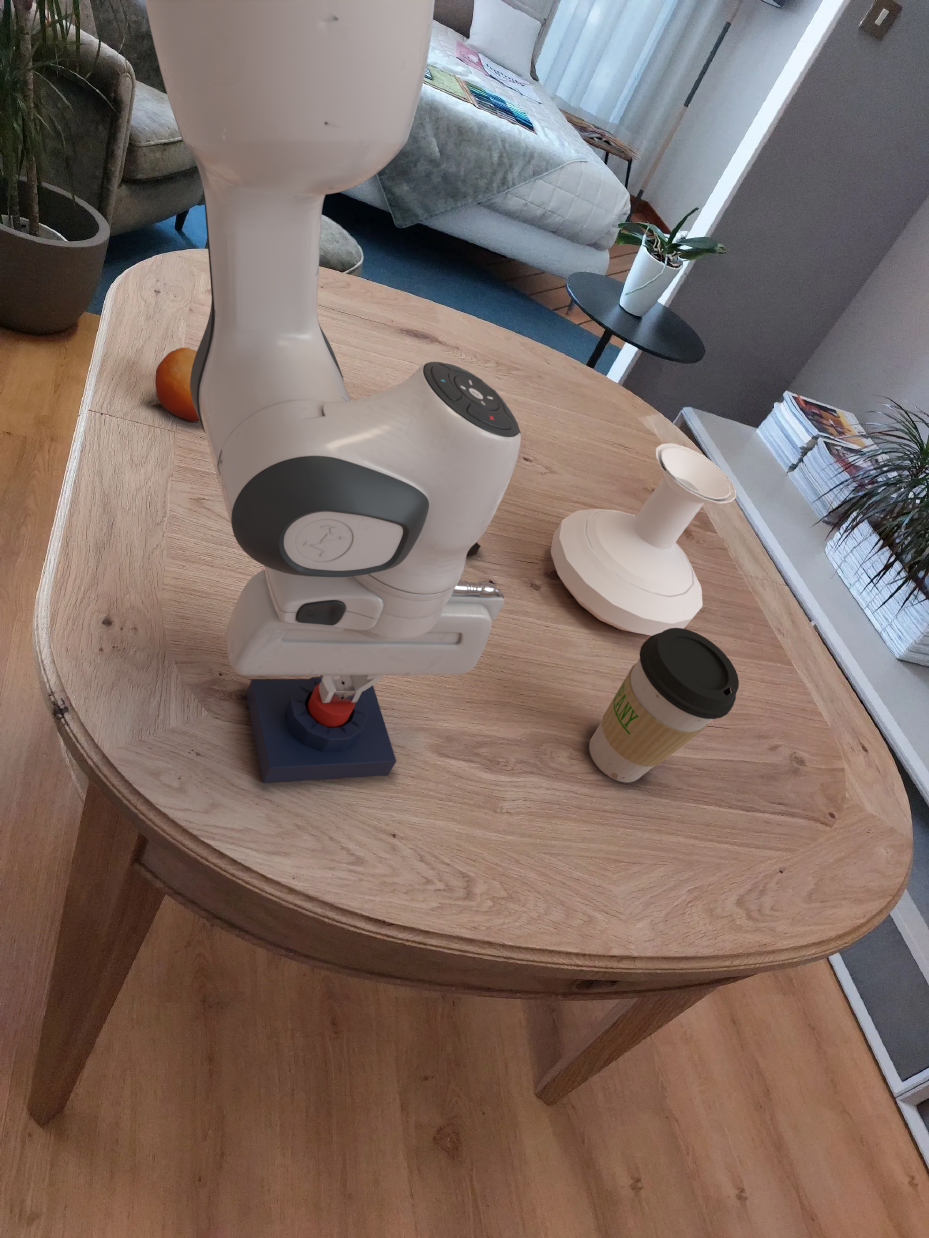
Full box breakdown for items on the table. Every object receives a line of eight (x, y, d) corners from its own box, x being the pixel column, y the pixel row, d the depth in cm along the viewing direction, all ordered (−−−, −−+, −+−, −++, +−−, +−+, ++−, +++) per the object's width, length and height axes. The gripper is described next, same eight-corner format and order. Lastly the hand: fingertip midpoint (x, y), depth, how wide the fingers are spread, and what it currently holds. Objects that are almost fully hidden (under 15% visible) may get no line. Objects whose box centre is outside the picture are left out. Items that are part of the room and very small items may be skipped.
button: (312, 728, 68) (318, 715, 67) (303, 693, 71) (309, 680, 69) (353, 726, 70) (359, 714, 69) (344, 692, 72) (350, 679, 71)
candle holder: (581, 654, 95) (673, 527, 83) (515, 533, 106) (587, 407, 94) (707, 651, 105) (806, 538, 93) (634, 542, 117) (713, 429, 104)
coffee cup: (608, 704, 91) (684, 610, 81) (674, 772, 87) (762, 682, 78) (554, 739, 84) (631, 641, 74) (624, 814, 80) (714, 721, 71)
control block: (262, 783, 67) (274, 755, 65) (245, 694, 73) (256, 665, 70) (388, 775, 73) (403, 748, 70) (363, 693, 78) (377, 665, 76)
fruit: (153, 363, 98) (197, 326, 95) (202, 416, 102) (247, 382, 98) (123, 394, 92) (169, 355, 89) (176, 448, 96) (223, 413, 92)
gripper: (499, 557, 67) (437, 667, 76) (244, 537, 57) (207, 666, 66) (527, 615, 64) (459, 723, 72) (259, 605, 54) (218, 732, 62)
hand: (337, 696), depth 69 cm, fingers closed
